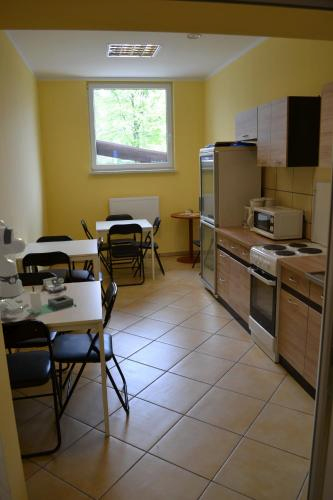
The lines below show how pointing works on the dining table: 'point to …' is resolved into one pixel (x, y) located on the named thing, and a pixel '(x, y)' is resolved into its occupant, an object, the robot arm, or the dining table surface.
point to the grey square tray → (60, 302)
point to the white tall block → (35, 301)
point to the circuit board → (46, 310)
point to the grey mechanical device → (53, 284)
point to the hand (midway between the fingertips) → (25, 303)
